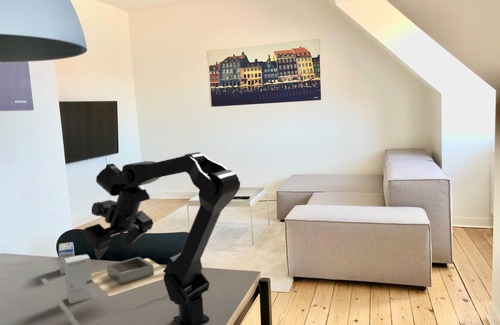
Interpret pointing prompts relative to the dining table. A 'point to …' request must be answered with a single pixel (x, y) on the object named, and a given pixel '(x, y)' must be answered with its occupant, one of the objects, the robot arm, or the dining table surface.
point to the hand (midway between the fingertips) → (112, 252)
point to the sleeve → (133, 275)
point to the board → (114, 288)
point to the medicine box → (65, 254)
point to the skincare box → (78, 278)
